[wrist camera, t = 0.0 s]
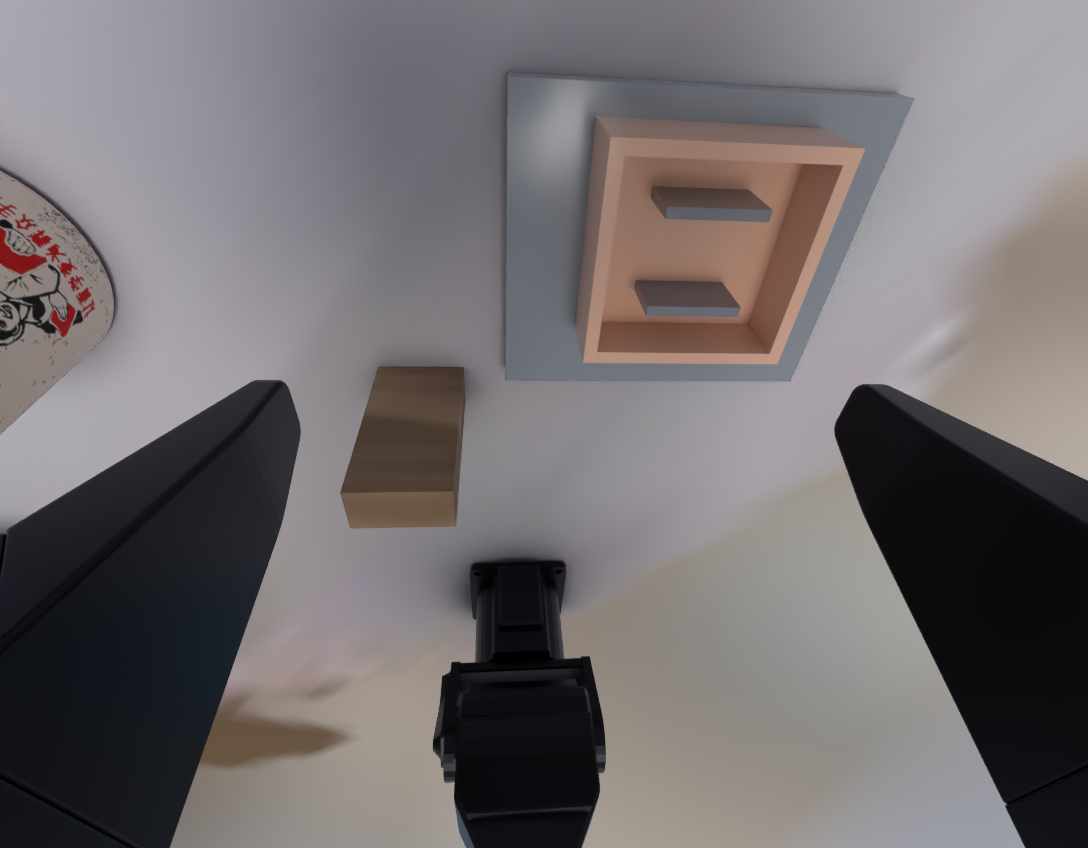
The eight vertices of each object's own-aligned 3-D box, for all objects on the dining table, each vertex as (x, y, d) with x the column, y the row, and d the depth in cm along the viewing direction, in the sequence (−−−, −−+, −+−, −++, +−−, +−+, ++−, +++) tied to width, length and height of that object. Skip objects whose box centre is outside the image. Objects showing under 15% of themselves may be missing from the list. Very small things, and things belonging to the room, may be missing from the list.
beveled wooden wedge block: (465, 400, 27) (455, 526, 21) (384, 400, 26) (350, 528, 20) (463, 367, 25) (452, 491, 19) (378, 366, 25) (340, 493, 19)
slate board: (781, 369, 27) (790, 381, 26) (505, 367, 25) (505, 380, 25) (897, 93, 19) (914, 98, 18) (507, 71, 18) (508, 76, 17)
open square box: (750, 327, 24) (777, 364, 21) (574, 324, 23) (583, 362, 21) (820, 127, 19) (865, 148, 16) (596, 116, 18) (610, 136, 16)
